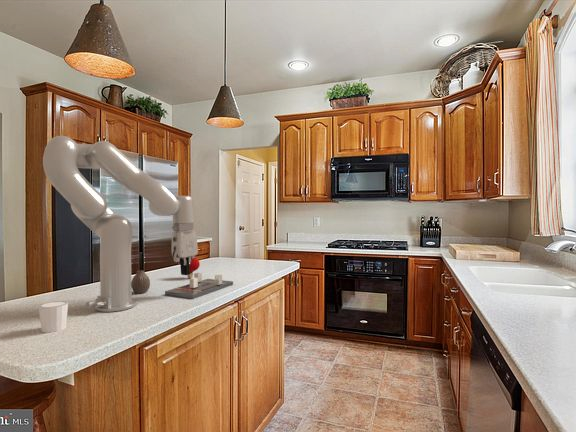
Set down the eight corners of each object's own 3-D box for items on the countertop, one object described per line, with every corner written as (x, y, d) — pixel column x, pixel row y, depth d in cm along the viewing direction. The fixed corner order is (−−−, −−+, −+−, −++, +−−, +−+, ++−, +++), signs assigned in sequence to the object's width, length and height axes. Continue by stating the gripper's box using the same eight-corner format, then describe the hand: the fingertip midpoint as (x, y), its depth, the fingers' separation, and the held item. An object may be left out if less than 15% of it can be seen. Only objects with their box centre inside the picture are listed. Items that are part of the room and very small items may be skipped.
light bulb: (202, 277, 166) (201, 256, 166) (196, 280, 159) (196, 259, 159) (183, 276, 167) (183, 256, 167) (177, 279, 160) (177, 258, 160)
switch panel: (193, 299, 125) (192, 284, 125) (164, 295, 131) (164, 280, 131) (233, 284, 149) (233, 272, 148) (207, 282, 155) (207, 269, 154)
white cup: (73, 324, 97) (73, 300, 97) (58, 333, 91) (58, 307, 90) (49, 324, 97) (49, 300, 97) (32, 333, 90) (32, 307, 90)
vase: (150, 293, 133) (149, 271, 133) (130, 295, 131) (130, 273, 131) (150, 289, 140) (150, 268, 140) (132, 291, 137) (131, 270, 137)
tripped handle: (193, 288, 134) (193, 279, 134) (189, 287, 135) (189, 278, 135) (197, 286, 136) (197, 277, 136) (193, 286, 137) (193, 277, 137)
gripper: (176, 229, 122) (179, 279, 122) (203, 226, 135) (205, 271, 136) (161, 229, 125) (163, 278, 126) (189, 226, 138) (191, 270, 139)
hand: (185, 274), depth 131 cm, fingers closed
